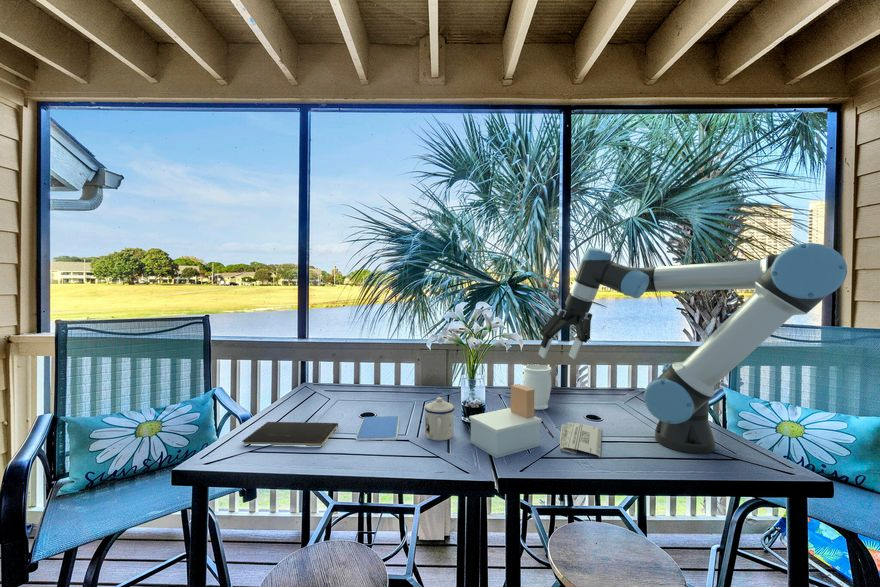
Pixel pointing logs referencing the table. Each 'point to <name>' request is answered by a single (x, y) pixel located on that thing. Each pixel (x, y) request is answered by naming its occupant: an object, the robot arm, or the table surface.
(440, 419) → the teacup with lid
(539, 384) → the jar
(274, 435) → the hardcover book
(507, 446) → the parts tub
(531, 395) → the lid
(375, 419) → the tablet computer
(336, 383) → the table surface
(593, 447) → the newspaper
